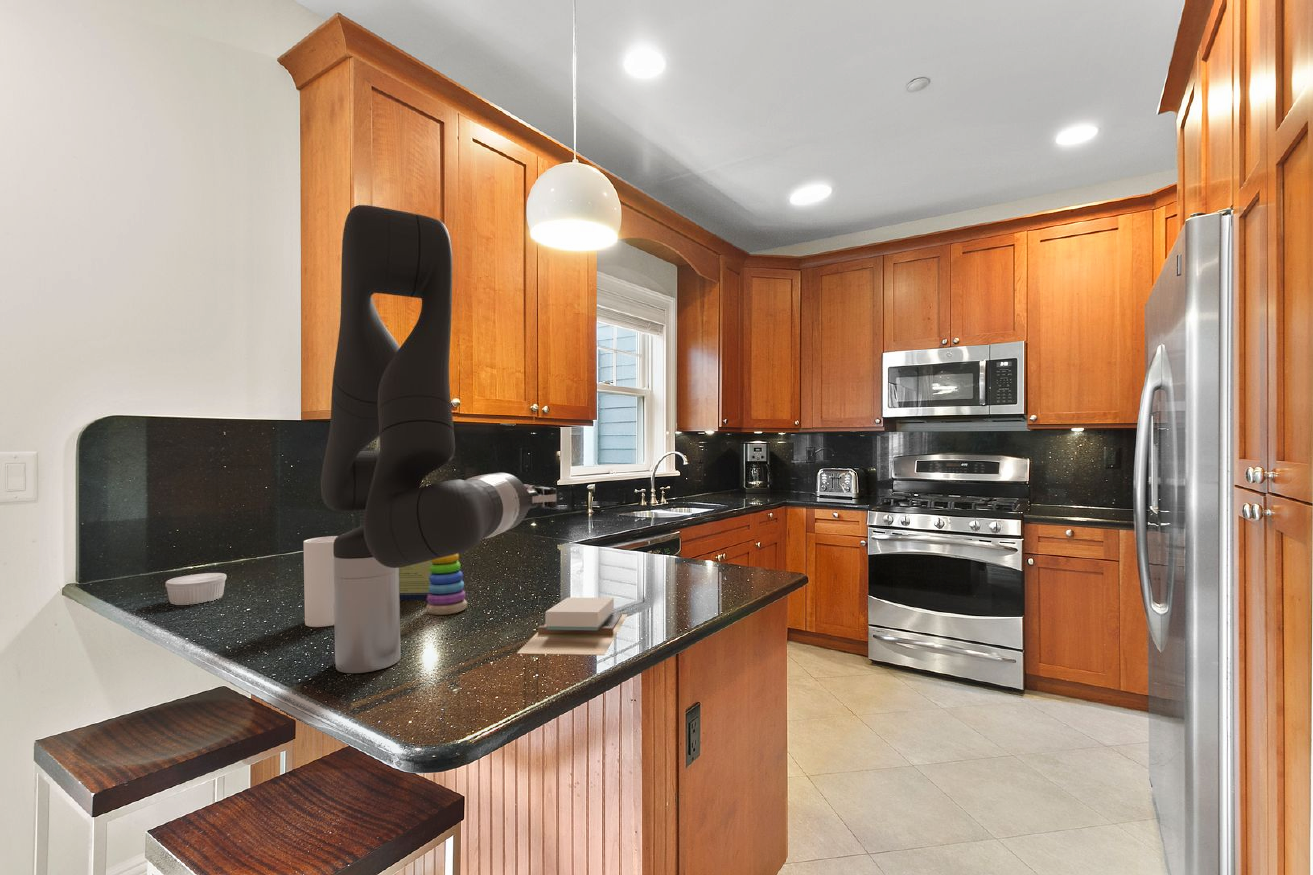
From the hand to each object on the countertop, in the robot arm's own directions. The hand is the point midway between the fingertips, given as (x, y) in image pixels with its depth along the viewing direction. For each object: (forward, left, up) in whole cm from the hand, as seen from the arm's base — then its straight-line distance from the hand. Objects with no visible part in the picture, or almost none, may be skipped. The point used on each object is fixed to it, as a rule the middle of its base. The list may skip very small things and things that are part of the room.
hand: (531, 492), depth 92 cm
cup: (-54, -5, -27) cm, 60 cm away
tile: (-3, +11, -23) cm, 25 cm away
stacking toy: (-40, +12, -27) cm, 50 cm away
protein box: (-58, +17, -27) cm, 66 cm away
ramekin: (-97, -14, -27) cm, 101 cm away
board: (-5, +14, -27) cm, 30 cm away
